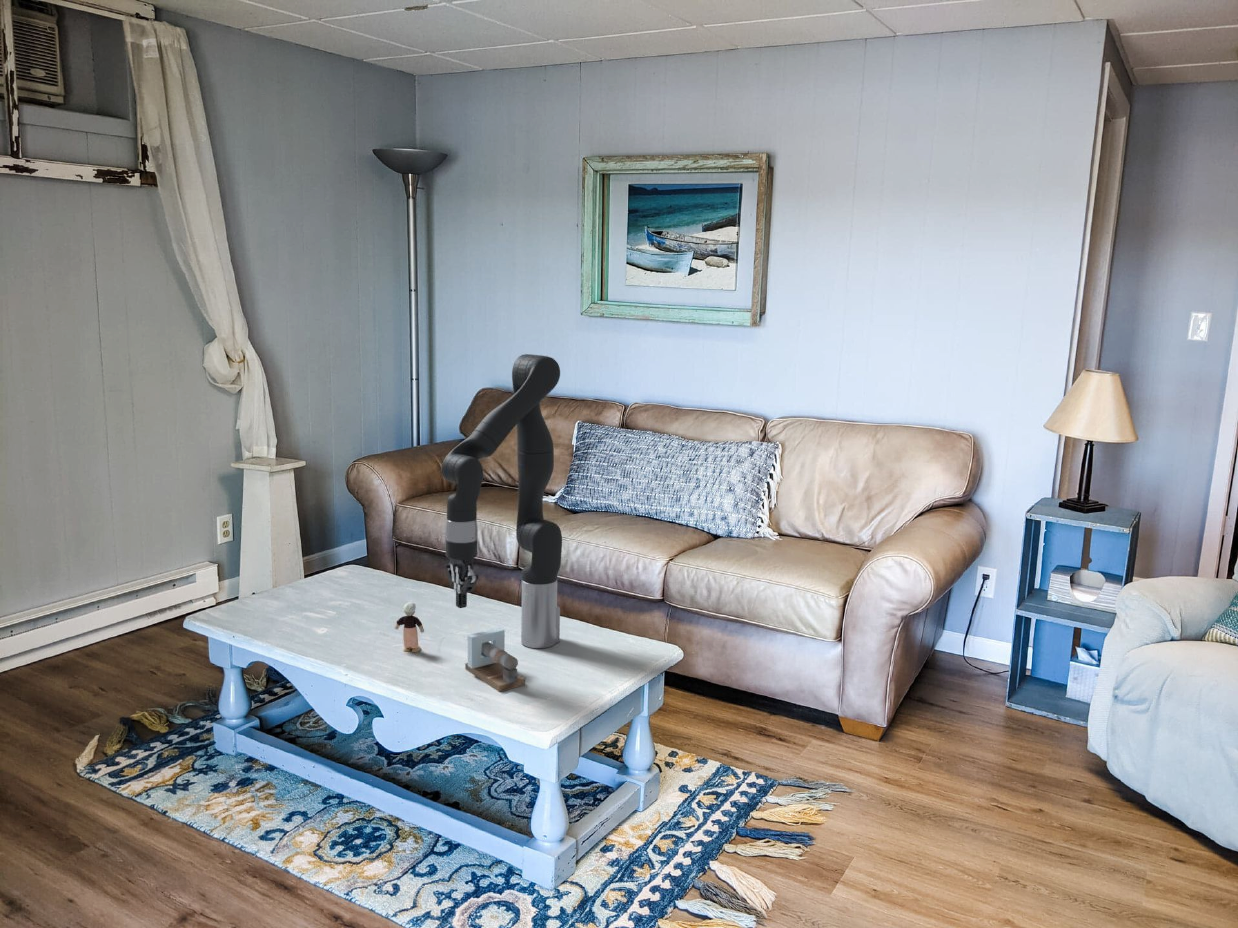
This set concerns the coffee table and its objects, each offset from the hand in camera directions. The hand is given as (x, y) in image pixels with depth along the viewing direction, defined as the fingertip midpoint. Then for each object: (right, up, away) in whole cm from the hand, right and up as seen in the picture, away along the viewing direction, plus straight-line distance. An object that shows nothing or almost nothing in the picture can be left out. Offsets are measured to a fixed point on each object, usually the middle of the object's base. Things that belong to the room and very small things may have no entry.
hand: (461, 606), depth 228 cm
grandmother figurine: (-15, -13, +13) cm, 24 cm away
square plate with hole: (+6, -14, 0) cm, 15 cm away
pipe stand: (+9, -16, -3) cm, 19 cm away
